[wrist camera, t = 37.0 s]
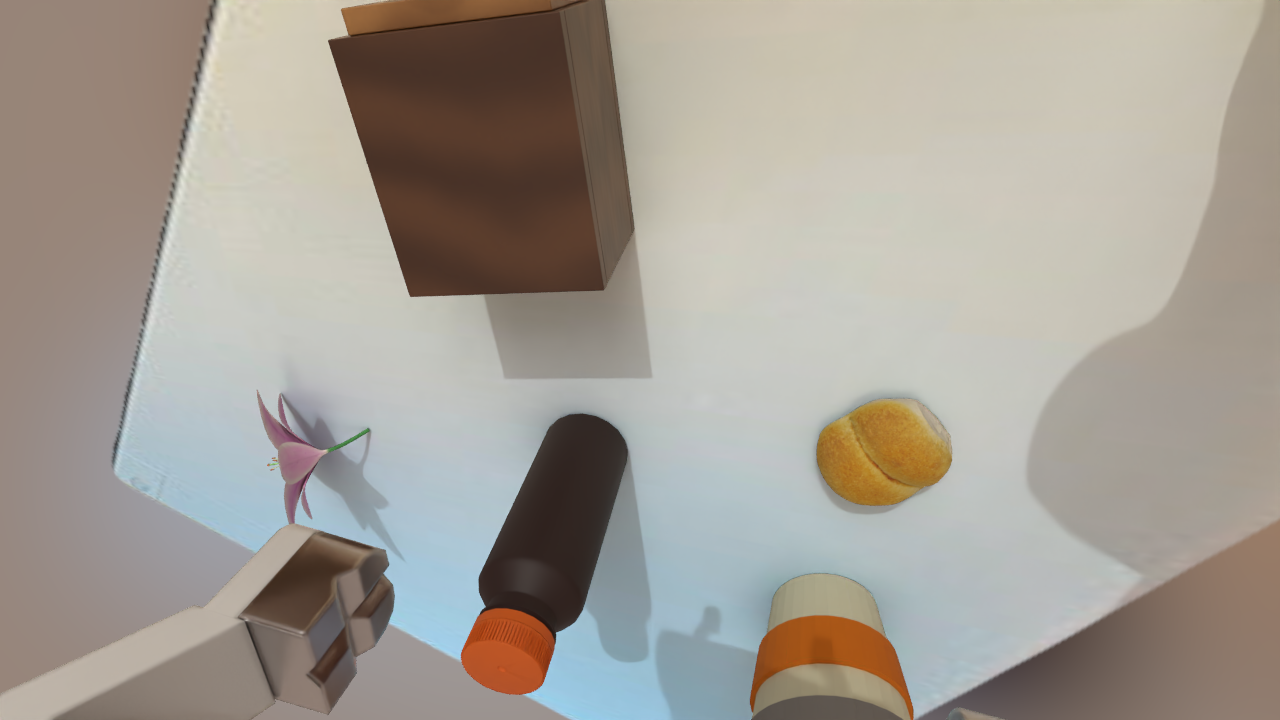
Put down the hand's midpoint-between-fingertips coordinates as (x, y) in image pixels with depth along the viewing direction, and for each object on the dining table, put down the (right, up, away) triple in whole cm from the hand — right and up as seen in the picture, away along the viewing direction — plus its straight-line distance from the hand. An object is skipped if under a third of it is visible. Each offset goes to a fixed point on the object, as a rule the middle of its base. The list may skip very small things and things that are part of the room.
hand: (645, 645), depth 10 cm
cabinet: (-7, +18, +33) cm, 38 cm away
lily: (-27, -1, +50) cm, 57 cm away
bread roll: (+17, -2, +40) cm, 44 cm away
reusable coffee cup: (+16, -18, +51) cm, 56 cm away
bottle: (-4, -3, +46) cm, 46 cm away
